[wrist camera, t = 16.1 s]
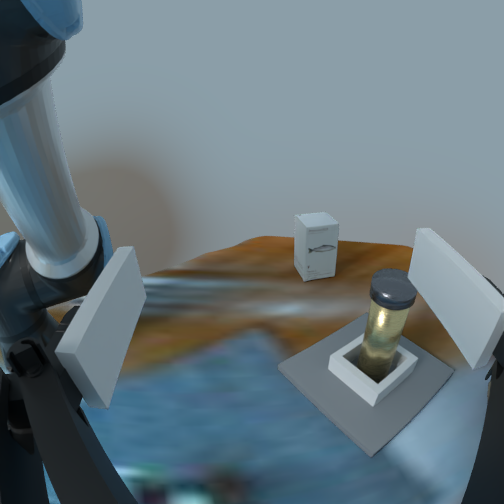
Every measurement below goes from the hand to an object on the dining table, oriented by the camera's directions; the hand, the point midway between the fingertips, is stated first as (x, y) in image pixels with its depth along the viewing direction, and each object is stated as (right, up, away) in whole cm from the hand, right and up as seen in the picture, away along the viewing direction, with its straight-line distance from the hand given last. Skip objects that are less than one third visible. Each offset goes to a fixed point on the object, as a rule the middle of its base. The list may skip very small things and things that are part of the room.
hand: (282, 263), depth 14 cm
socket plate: (+16, -18, +28) cm, 37 cm away
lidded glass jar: (+16, -17, +27) cm, 36 cm away
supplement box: (+12, -4, +55) cm, 57 cm away
